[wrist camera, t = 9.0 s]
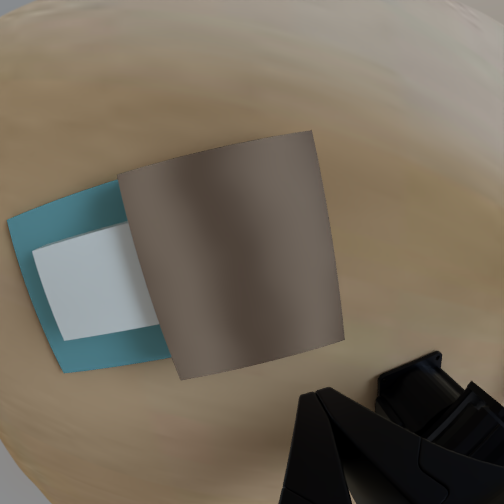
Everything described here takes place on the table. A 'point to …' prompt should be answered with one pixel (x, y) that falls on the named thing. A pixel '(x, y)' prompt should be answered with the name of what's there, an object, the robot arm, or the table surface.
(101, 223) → the mat
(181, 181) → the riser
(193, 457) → the table surface
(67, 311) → the tile
